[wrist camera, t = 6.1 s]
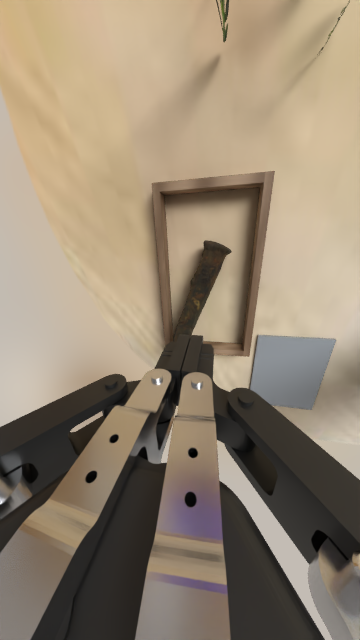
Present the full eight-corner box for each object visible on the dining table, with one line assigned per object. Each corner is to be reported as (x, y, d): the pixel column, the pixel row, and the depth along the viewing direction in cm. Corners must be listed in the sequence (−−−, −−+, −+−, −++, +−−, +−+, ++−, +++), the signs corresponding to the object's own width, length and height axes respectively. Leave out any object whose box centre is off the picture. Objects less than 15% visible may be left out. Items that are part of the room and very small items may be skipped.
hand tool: (206, 239, 28) (205, 235, 24) (231, 249, 28) (234, 248, 24) (163, 341, 35) (156, 353, 30) (182, 350, 35) (178, 364, 30)
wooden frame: (269, 176, 24) (274, 171, 22) (247, 348, 35) (249, 356, 32) (157, 187, 27) (151, 183, 24) (168, 343, 37) (165, 350, 35)
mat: (334, 339, 31) (336, 340, 31) (310, 408, 37) (311, 409, 37) (258, 334, 33) (258, 336, 33) (248, 400, 40) (248, 402, 39)
